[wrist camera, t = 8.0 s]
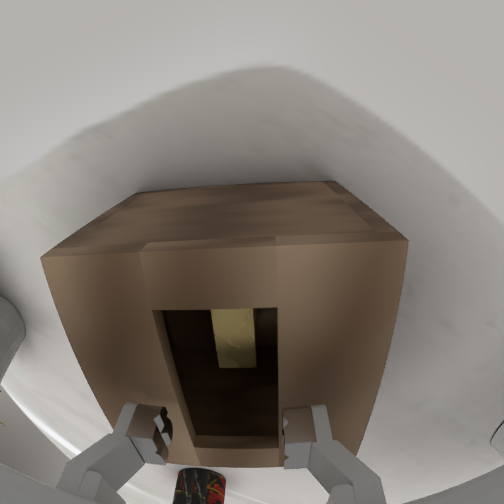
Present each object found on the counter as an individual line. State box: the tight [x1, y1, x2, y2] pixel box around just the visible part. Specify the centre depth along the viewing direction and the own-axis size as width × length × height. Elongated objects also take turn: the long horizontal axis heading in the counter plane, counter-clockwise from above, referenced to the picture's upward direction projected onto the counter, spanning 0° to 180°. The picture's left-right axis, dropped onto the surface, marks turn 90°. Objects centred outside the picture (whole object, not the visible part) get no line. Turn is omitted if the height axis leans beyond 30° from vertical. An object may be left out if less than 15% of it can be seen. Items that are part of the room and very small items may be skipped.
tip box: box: [40, 181, 408, 468], centre depth 16 cm, size 12×12×10 cm
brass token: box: [211, 308, 258, 368], centre depth 18 cm, size 2×5×5 cm, turn 3°
